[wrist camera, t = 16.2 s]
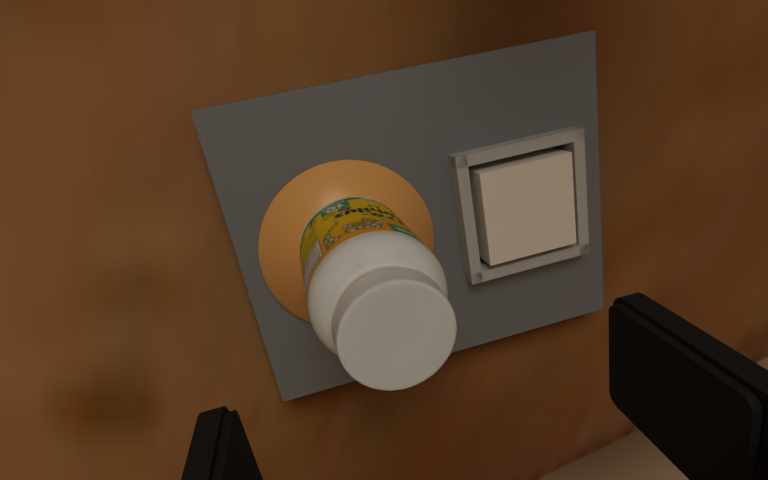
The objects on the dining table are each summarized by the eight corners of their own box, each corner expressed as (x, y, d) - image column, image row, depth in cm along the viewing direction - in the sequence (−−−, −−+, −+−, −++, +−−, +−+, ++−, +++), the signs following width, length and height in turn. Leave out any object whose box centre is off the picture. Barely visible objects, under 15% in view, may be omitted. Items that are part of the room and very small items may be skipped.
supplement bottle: (288, 283, 24) (293, 401, 15) (312, 182, 22) (334, 243, 13) (388, 301, 25) (448, 417, 16) (416, 206, 24) (498, 275, 15)
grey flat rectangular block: (572, 34, 25) (608, 27, 22) (584, 295, 31) (614, 315, 28) (197, 109, 23) (186, 112, 20) (282, 381, 28) (283, 413, 25)
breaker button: (542, 146, 26) (571, 151, 24) (548, 228, 28) (576, 243, 25) (459, 165, 26) (479, 173, 23) (470, 249, 27) (490, 265, 25)
